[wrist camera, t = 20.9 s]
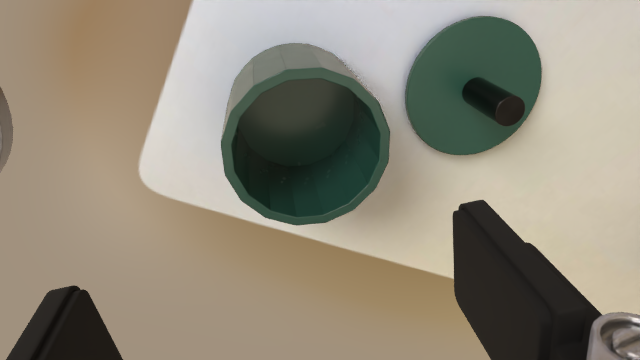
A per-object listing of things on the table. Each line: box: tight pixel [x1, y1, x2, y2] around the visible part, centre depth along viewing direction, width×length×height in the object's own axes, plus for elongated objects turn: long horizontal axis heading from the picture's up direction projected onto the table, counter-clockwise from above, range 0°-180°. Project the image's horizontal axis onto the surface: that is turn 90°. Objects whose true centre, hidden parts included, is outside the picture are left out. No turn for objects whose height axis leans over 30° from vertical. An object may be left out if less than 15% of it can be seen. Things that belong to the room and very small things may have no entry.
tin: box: [221, 43, 390, 225], centre depth 34 cm, size 11×11×10 cm
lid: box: [405, 16, 541, 155], centre depth 37 cm, size 12×12×7 cm
